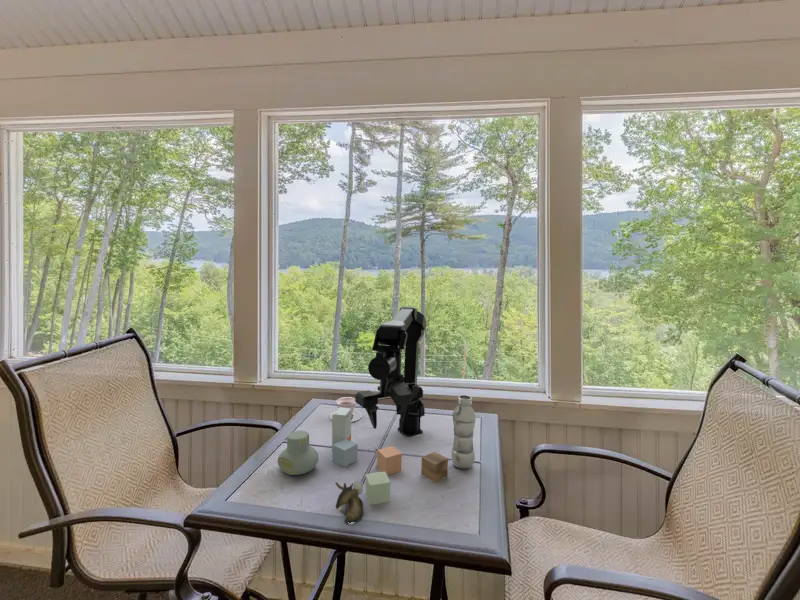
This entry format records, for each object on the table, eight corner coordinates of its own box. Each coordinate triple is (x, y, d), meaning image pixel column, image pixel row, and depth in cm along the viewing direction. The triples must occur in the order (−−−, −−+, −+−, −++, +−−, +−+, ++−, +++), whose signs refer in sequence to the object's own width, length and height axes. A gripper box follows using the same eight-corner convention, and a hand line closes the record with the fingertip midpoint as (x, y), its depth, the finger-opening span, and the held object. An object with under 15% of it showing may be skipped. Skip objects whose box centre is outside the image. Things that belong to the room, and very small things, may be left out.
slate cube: (345, 454, 115) (345, 438, 114) (357, 460, 111) (357, 443, 111) (332, 461, 111) (332, 444, 110) (344, 467, 108) (344, 450, 107)
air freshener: (273, 469, 106) (272, 434, 105) (296, 457, 112) (296, 424, 111) (300, 483, 100) (299, 446, 99) (323, 469, 106) (323, 434, 105)
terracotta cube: (392, 462, 111) (392, 445, 110) (401, 470, 106) (401, 453, 106) (377, 466, 108) (377, 449, 108) (385, 475, 104) (386, 457, 103)
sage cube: (384, 490, 97) (385, 471, 97) (390, 501, 92) (390, 482, 92) (365, 493, 96) (365, 474, 95) (369, 505, 91) (369, 485, 91)
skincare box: (345, 454, 115) (345, 415, 113) (331, 452, 116) (331, 414, 114) (351, 444, 121) (351, 408, 119) (338, 443, 121) (338, 406, 120)
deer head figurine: (326, 497, 92) (327, 515, 83) (342, 470, 93) (345, 484, 84) (353, 512, 93) (357, 531, 84) (368, 485, 94) (374, 500, 85)
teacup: (360, 424, 136) (360, 407, 136) (326, 423, 137) (326, 406, 136) (363, 411, 148) (364, 395, 148) (332, 410, 149) (332, 395, 148)
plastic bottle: (460, 473, 105) (463, 403, 103) (446, 462, 111) (448, 395, 109) (479, 468, 108) (481, 399, 106) (464, 457, 114) (466, 392, 112)
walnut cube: (434, 468, 108) (434, 451, 107) (447, 476, 104) (448, 458, 104) (421, 474, 105) (421, 457, 104) (434, 482, 101) (435, 464, 100)
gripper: (373, 382, 93) (372, 444, 95) (435, 372, 103) (434, 429, 104) (354, 371, 103) (354, 427, 104) (413, 363, 113) (411, 415, 114)
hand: (389, 425), depth 106 cm, fingers open, 9 cm apart
